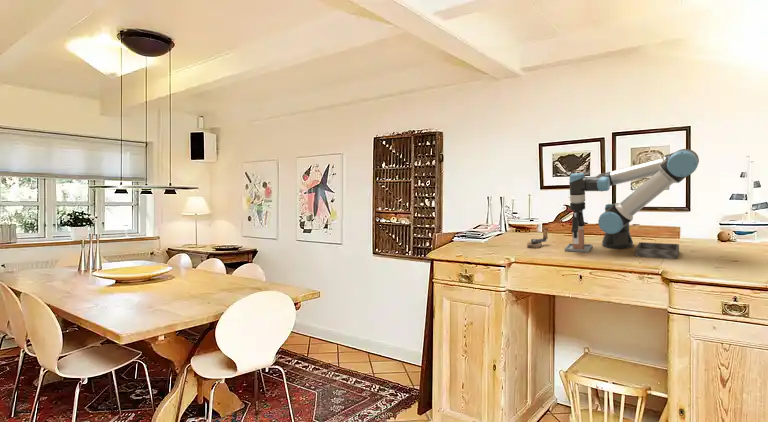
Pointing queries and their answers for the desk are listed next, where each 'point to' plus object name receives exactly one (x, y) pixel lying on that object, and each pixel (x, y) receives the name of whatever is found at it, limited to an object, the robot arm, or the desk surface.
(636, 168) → the robot arm
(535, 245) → the crank base
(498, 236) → the desk surface
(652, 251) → the bin
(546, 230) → the crank
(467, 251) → the desk surface
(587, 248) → the tray
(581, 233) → the post
